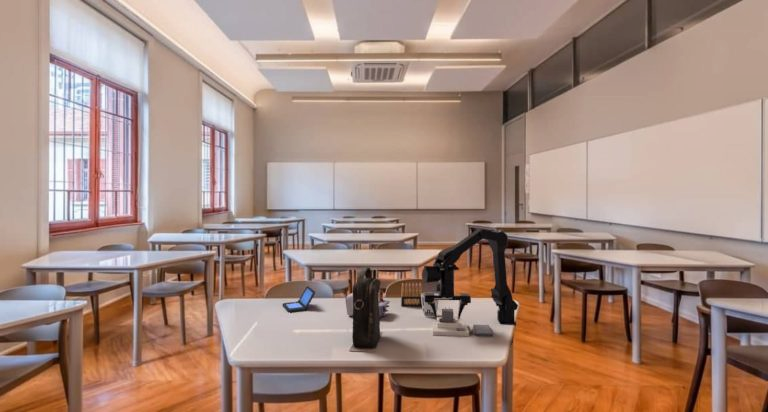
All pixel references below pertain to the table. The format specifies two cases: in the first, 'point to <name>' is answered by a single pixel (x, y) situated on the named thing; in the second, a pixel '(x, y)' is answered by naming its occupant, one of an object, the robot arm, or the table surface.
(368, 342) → the shoulder bag
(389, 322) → the table surface
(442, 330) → the outlet plate
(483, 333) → the phone
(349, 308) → the cell model
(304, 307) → the handheld game console
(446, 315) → the charger block
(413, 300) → the ammunition clip
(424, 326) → the table surface
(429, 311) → the cup
